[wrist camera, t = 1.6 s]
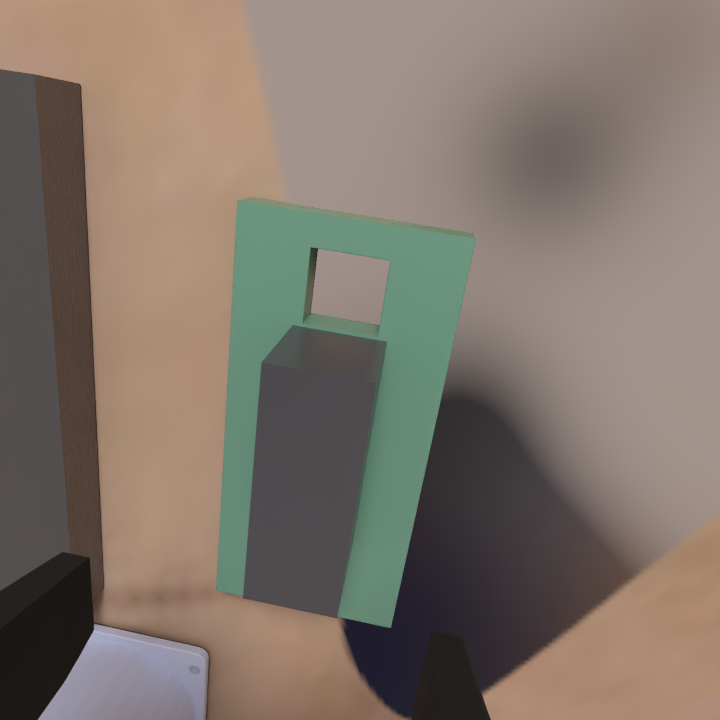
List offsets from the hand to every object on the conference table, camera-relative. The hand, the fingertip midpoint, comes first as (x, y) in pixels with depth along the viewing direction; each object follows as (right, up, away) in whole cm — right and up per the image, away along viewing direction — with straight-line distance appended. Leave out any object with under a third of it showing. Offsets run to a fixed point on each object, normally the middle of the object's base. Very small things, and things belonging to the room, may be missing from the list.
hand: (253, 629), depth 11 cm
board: (+1, +3, +8) cm, 9 cm away
